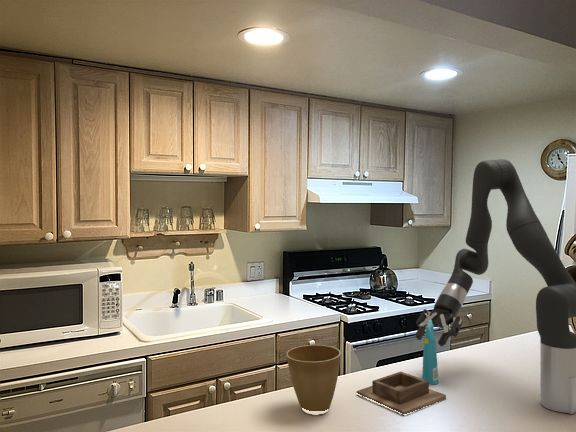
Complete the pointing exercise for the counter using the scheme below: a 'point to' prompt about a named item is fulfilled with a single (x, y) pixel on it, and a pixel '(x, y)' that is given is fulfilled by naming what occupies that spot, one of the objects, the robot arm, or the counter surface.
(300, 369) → the plant pot
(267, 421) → the counter surface
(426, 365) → the tube
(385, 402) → the socket board
